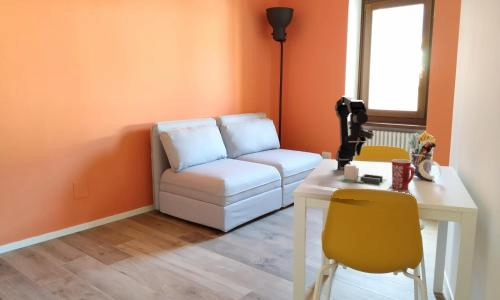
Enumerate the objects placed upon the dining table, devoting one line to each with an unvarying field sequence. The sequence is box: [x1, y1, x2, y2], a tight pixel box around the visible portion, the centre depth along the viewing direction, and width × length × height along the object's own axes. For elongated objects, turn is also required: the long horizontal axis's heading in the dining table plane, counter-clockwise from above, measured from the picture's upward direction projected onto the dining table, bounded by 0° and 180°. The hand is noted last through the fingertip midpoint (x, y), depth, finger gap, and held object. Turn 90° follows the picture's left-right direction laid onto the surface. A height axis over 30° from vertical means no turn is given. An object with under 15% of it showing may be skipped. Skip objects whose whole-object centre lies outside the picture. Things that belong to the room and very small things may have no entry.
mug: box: [391, 158, 415, 191], centre depth 195 cm, size 13×9×14 cm
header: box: [360, 173, 384, 184], centre depth 204 cm, size 9×8×2 cm
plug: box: [339, 164, 360, 180], centre depth 209 cm, size 10×4×7 cm, turn 59°
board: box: [337, 175, 388, 188], centre depth 206 cm, size 21×16×2 cm
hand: (356, 155), depth 207 cm, fingers open, 9 cm apart
